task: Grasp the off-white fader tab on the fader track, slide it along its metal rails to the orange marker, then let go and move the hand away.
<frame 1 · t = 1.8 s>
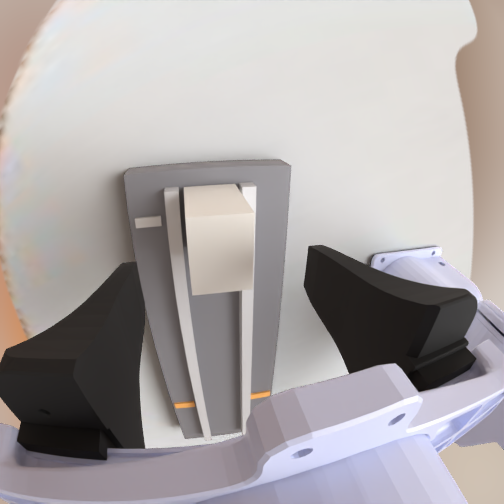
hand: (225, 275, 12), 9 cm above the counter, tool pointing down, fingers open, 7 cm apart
fader track: (215, 337, 25), on the counter
fader tab: (215, 234, 16), point 5 cm above the counter, slide at 0.0 cm
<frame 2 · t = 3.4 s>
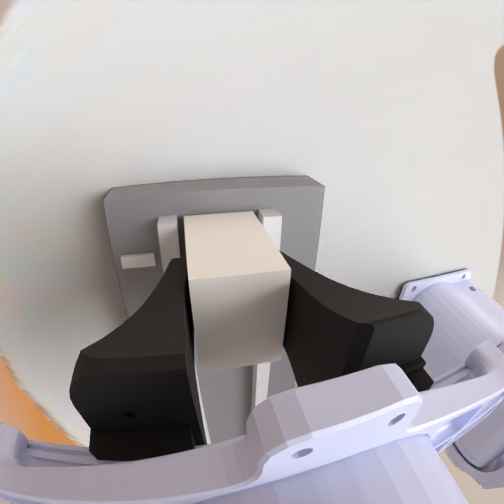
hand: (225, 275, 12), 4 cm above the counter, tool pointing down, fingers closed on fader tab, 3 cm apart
fader track: (222, 379, 21), on the counter
fader tab: (228, 284, 12), point 5 cm above the counter, slide at 0.0 cm, touching gripper
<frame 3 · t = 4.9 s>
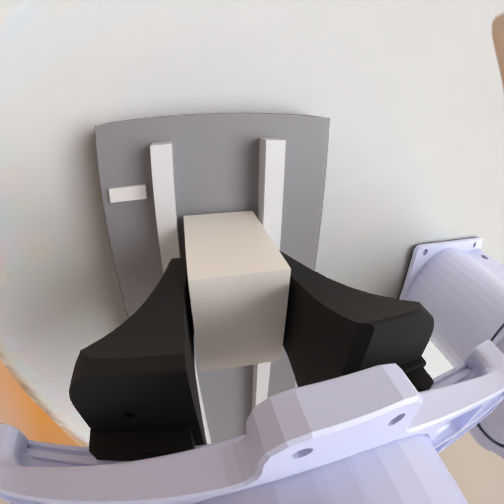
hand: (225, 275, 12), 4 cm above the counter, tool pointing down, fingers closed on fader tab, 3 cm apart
fader track: (220, 351, 20), on the counter
fader tab: (228, 284, 12), point 5 cm above the counter, slide at 3.2 cm, touching gripper
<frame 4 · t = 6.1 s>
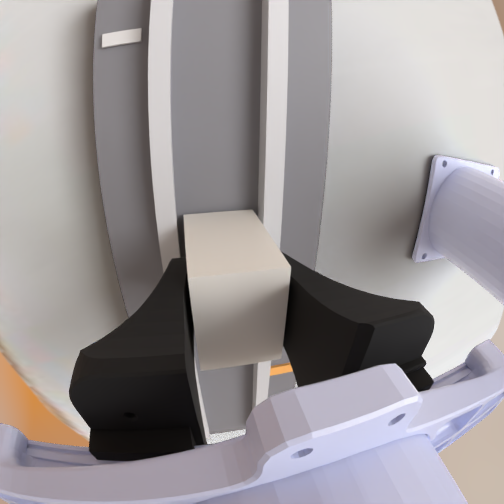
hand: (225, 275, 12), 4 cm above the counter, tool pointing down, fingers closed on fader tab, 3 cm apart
fader track: (215, 269, 17), on the counter
fader tab: (228, 283, 12), point 5 cm above the counter, slide at 9.8 cm, touching gripper
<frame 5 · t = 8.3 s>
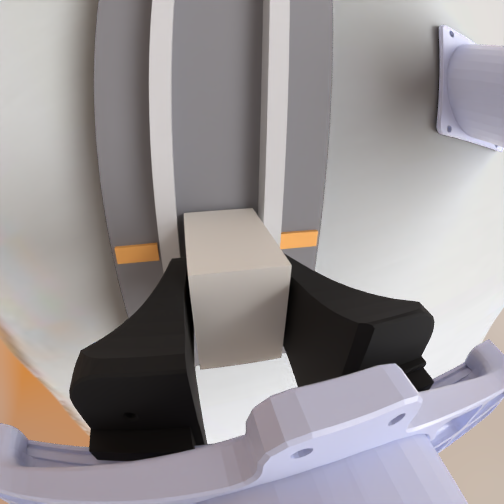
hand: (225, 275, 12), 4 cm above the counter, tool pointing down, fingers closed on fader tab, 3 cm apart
fader track: (212, 89, 12), on the counter
fader tab: (228, 281, 12), point 5 cm above the counter, slide at 19.2 cm, touching gripper
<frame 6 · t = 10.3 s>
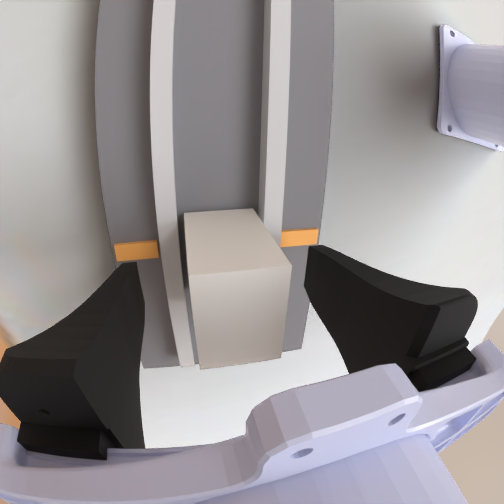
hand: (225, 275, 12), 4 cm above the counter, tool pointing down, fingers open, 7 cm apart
fader track: (212, 87, 12), on the counter
fader tab: (228, 281, 12), point 5 cm above the counter, slide at 19.4 cm
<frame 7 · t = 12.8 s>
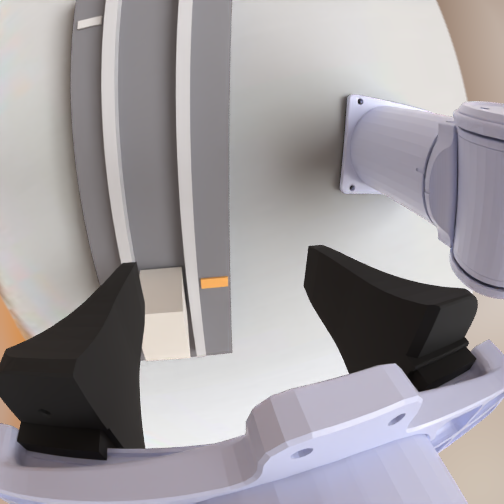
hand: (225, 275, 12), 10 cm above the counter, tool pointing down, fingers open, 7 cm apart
fader track: (154, 186, 20), on the counter
fader tab: (163, 312, 19), point 5 cm above the counter, slide at 19.4 cm
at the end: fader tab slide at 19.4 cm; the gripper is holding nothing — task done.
